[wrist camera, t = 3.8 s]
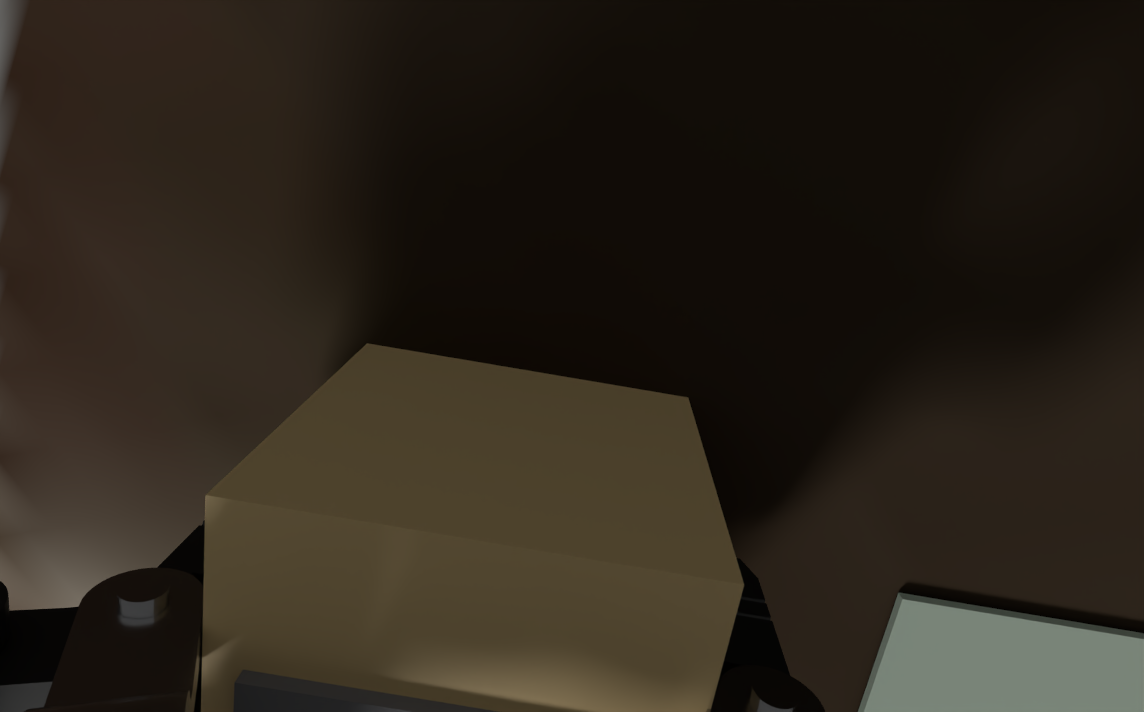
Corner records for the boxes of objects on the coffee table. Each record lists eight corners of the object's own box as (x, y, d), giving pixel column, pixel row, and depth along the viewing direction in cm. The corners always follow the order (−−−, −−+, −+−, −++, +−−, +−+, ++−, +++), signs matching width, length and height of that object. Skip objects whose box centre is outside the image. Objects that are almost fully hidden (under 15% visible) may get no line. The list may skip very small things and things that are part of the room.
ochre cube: (687, 396, 13) (748, 596, 8) (628, 662, 15) (642, 985, 9) (368, 342, 13) (195, 505, 7) (343, 615, 15) (188, 911, 9)
